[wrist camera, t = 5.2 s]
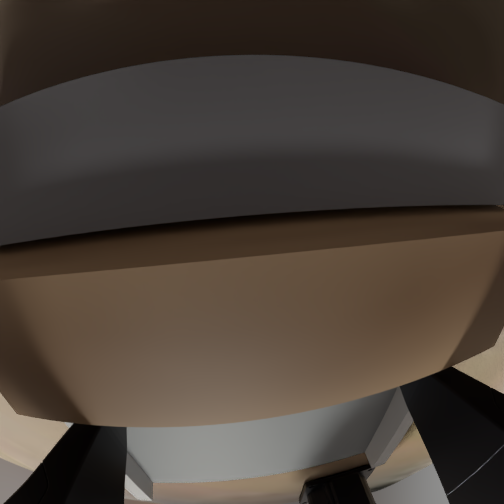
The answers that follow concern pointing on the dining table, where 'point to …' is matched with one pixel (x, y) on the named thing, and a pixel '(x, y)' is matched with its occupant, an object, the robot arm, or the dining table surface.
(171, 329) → the walnut slider
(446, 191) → the rail plate
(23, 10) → the dining table surface
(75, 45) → the dining table surface
